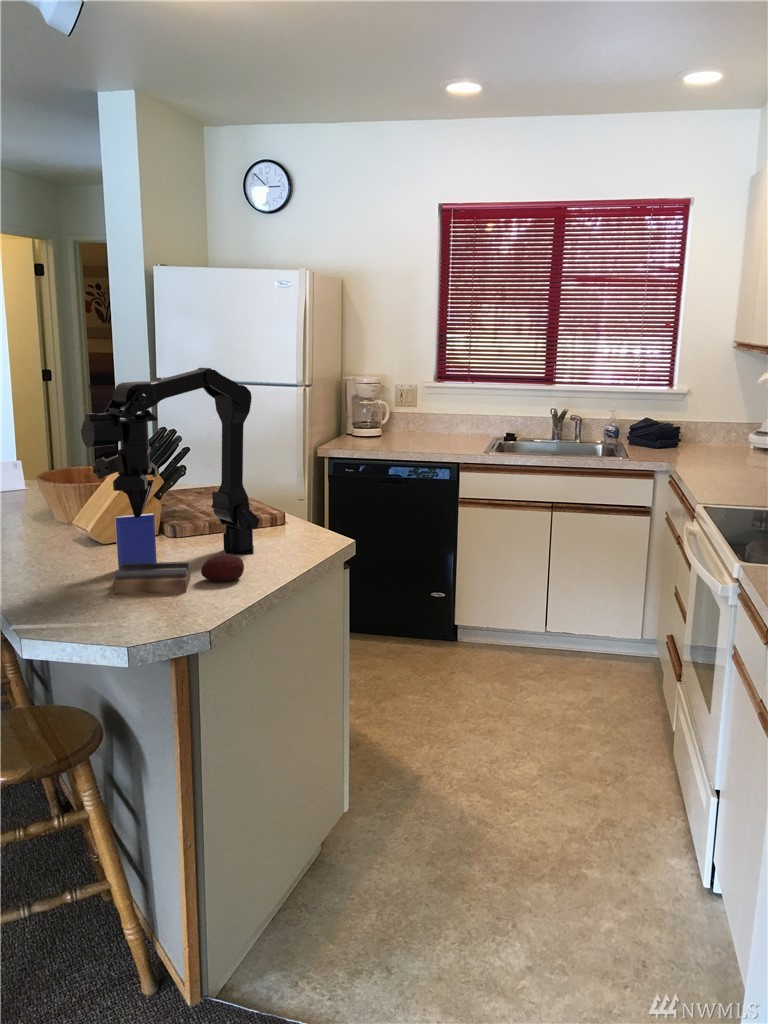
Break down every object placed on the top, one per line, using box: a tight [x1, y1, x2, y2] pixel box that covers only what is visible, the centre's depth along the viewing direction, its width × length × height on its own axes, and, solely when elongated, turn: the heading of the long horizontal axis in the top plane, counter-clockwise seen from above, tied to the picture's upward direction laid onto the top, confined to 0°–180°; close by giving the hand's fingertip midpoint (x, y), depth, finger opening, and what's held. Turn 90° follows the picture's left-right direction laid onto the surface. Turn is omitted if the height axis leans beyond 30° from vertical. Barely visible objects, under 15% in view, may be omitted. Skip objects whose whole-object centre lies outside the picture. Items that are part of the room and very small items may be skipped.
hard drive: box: [114, 513, 158, 570], centre depth 175 cm, size 2×8×12 cm, turn 117°
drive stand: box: [113, 561, 191, 596], centre depth 164 cm, size 14×10×4 cm
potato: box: [200, 553, 245, 583], centre depth 169 cm, size 8×9×6 cm
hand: (138, 516), depth 170 cm, fingers closed
